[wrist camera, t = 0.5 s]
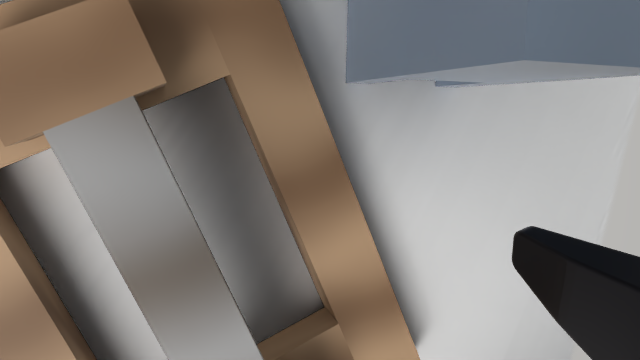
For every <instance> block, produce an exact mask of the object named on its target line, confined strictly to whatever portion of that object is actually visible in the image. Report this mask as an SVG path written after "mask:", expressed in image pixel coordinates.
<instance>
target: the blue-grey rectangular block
mask: <svg viewBox="0 0 640 360" xmlns="http://www.w3.org/2000/svg"><path fill="white" fill-rule="evenodd" d="M637 75H640V0H348V21H347V56H346V83H365V84H371V83H380V82H389V81H399V80H408V79H413V80H436V86H438V87H468V86H483V85H499V84H514V83H529V82H545V81H560V80H576V79H591V78H606V77H622V76H637Z"/></svg>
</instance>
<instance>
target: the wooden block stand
mask: <svg viewBox="0 0 640 360" xmlns="http://www.w3.org/2000/svg"><path fill="white" fill-rule="evenodd" d="M223 77H224V79H225V81H226V84H227V86H228V88H229V91H230V93H231V95H232V97H233V100H234V102H235V104H236V106H237V109H238V111H239V113H240V116H241V118H242V120H243V122H244V125H245V127H246V129H247V132H248V134H249V136H250V138H251V141H252V143H253V145H254V148H255V150H256V152H257V154H258V157H259V159H260V161H261V164H262V166H263V168H264V170H265V173H266V175H267V177H268V179H269V182H270V184H271V186H272V189H273V191H274V193H275V195H276V198H277V200H278V202H279V205H280V207H281V209H282V211H283V214H284V216H285V218H286V221H287V223H288V225H289V227H290V230H291V232H292V234H293V237H294V239H295V241H296V243H297V246H298V248H299V250H300V252H301V255H302V257H303V259H304V262H305V264H306V266H307V268H308V271H309V273H310V275H311V278H312V280H313V282H314V284H315V287H316V289H317V291H318V294H319V296H320V298H321V300H322V303H323V305H324V308H322V309H320V310H319V311H317V312H315V313H313V314H311V315H310V316H308V317H306V318H304V319H302V320H300V321H299V322H297V323H295V324H293V325H291V326H290V327H288V328H286V329H284V330H282V331H280V332H279V333H277V334H275V335H273V336H271V337H270V338H268V339H266V340H264V341H262V342H260V343H259V344H256V342H255V340H254V338H253V336H252V334H251V332H250V330H249V328H248V326H247V324H246V322H245V320H244V318H243V316H242V314H241V312H240V310H239V307H238V305H237V303H236V301H235V299H234V297H233V295H232V293H231V291H230V289H229V287H228V285H227V283H226V281H225V279H224V277H223V275H222V273H221V271H220V269H219V267H218V265H217V263H216V261H215V259H214V257H213V255H212V252H211V250H210V248H209V246H208V244H207V242H206V240H205V238H204V236H203V234H202V232H201V230H200V228H199V226H198V224H197V222H196V220H195V218H194V216H193V214H192V212H191V210H190V208H189V206H188V204H187V202H186V200H185V198H184V195H183V193H182V191H181V189H180V187H179V185H178V183H177V181H176V179H175V177H174V175H173V173H172V171H171V169H170V167H169V165H168V163H167V161H166V159H165V157H164V155H163V153H162V151H161V149H160V147H159V145H158V143H157V140H156V138H155V136H154V134H153V132H152V130H151V128H150V126H149V124H148V122H147V120H146V118H145V116H144V114H143V112H142V110H145V109H147V108H150V107H152V106H154V105H157V104H159V103H162V102H164V101H167V100H169V99H172V98H174V97H176V96H179V95H181V94H184V93H186V92H189V91H191V90H194V89H196V88H198V87H201V86H203V85H206V84H208V83H211V82H213V81H216V80H218V79H220V78H223ZM49 148H52V150H53V152H54V153H55V155H56V157H57V159H58V161H59V162H60V164H61V166H62V168H63V170H64V172H65V173H66V175H67V177H68V179H69V181H70V182H71V184H72V186H73V188H74V190H75V191H76V193H77V195H78V197H79V199H80V201H81V202H82V204H83V206H84V208H85V210H86V211H87V213H88V215H89V217H90V219H91V221H92V222H93V224H94V226H95V228H96V230H97V231H98V233H99V235H100V237H101V239H102V240H103V242H104V244H105V246H106V248H107V250H108V251H109V253H110V255H111V257H112V259H113V260H114V262H115V264H116V266H117V268H118V269H119V271H120V273H121V275H122V277H123V279H124V280H125V282H126V284H127V286H128V288H129V289H130V291H131V293H132V295H133V297H134V298H135V300H136V302H137V304H138V306H139V308H140V309H141V311H142V313H143V315H144V317H145V318H146V320H147V322H148V324H149V326H150V327H151V329H152V331H153V333H154V335H155V337H156V338H157V340H158V342H159V344H160V346H161V347H162V349H163V351H164V353H165V355H166V356H167V358H168V360H420V358H419V355H418V353H417V350H416V348H415V345H414V343H413V340H412V337H411V335H410V332H409V330H408V327H407V325H406V322H405V320H404V317H403V314H402V312H401V309H400V307H399V304H398V302H397V299H396V297H395V294H394V292H393V289H392V286H391V284H390V281H389V279H388V276H387V274H386V271H385V269H384V266H383V264H382V261H381V258H380V256H379V253H378V251H377V248H376V246H375V243H374V241H373V238H372V236H371V233H370V230H369V228H368V225H367V223H366V220H365V218H364V215H363V213H362V210H361V207H360V205H359V202H358V200H357V197H356V195H355V192H354V190H353V187H352V185H351V182H350V179H349V177H348V174H347V172H346V169H345V167H344V164H343V162H342V159H341V157H340V154H339V151H338V149H337V146H336V144H335V141H334V139H333V136H332V134H331V131H330V129H329V126H328V123H327V121H326V118H325V116H324V113H323V111H322V108H321V106H320V103H319V100H318V98H317V95H316V93H315V90H314V88H313V85H312V83H311V80H310V78H309V75H308V72H307V70H306V67H305V65H304V62H303V60H302V57H301V55H300V52H299V50H298V47H297V44H296V42H295V39H294V37H293V34H292V32H291V29H290V27H289V24H288V22H287V19H286V16H285V14H284V11H283V9H282V6H281V4H280V1H279V0H13V1H10V2H7V3H4V4H1V5H0V168H3V167H5V166H8V165H10V164H12V163H15V162H17V161H20V160H22V159H25V158H27V157H30V156H32V155H34V154H37V153H39V152H42V151H44V150H47V149H49ZM0 360H97V359H96V358H95V356H94V354H93V353H92V351H91V349H90V348H89V346H88V344H87V343H86V341H85V339H84V338H83V336H82V334H81V333H80V331H79V329H78V328H77V326H76V324H75V322H74V321H73V319H72V317H71V316H70V314H69V312H68V311H67V309H66V307H65V306H64V304H63V302H62V301H61V299H60V297H59V296H58V294H57V292H56V291H55V289H54V287H53V286H52V284H51V282H50V281H49V279H48V277H47V276H46V274H45V272H44V271H43V269H42V267H41V266H40V264H39V262H38V260H37V259H36V257H35V255H34V254H33V252H32V250H31V249H30V247H29V245H28V244H27V242H26V240H25V239H24V237H23V235H22V234H21V232H20V230H19V229H18V227H17V225H16V224H15V222H14V220H13V219H12V217H11V215H10V214H9V212H8V210H7V209H6V207H5V205H4V204H3V202H2V200H1V198H0Z"/></svg>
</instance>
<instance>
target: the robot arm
mask: <svg viewBox="0 0 640 360" xmlns="http://www.w3.org/2000/svg"><path fill="white" fill-rule="evenodd" d="M512 262H513V265H514V267H515V269H516V270H517V272H518V273H519V274H520V276H521V277H522V278H523V279H524V281H525V282H526V283H527V285H528V286H529V287H530V288H531V290H532V291H533V292H534V294H535V295H536V296H537V298H538V299H539V300H540V301H541V303H542V304H543V305H544V307H545V308H546V309H547V310H548V312H549V313H550V314H551V315H552V317H553V318H554V319H555V320H556V321H557V323H558V324H559V325H560V326H561V327H562V328H563V329H564V330H565V331H566V333H567V334H568V335H569V336H570V337H571V338H572V339H573V340H574V341H575V342H576V343H577V344H578V345H579V346H580V347H581V348H582V349H583V350H584V352H586V354H587V355H588V356H589V357H590V358H591V359H592V360H640V257H638V256H634V255H631V254H628V253H624V252H621V251H617V250H613V249H610V248H607V247H603V246H600V245H597V244H593V243H590V242H586V241H583V240H579V239H576V238H572V237H569V236H566V235H562V234H559V233H555V232H552V231H548V230H545V229H541V228H538V227H534V226H530V227H527V228H524V229H522V230H520V231H517V232H516V233H515V235H514V240H513V251H512Z"/></svg>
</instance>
